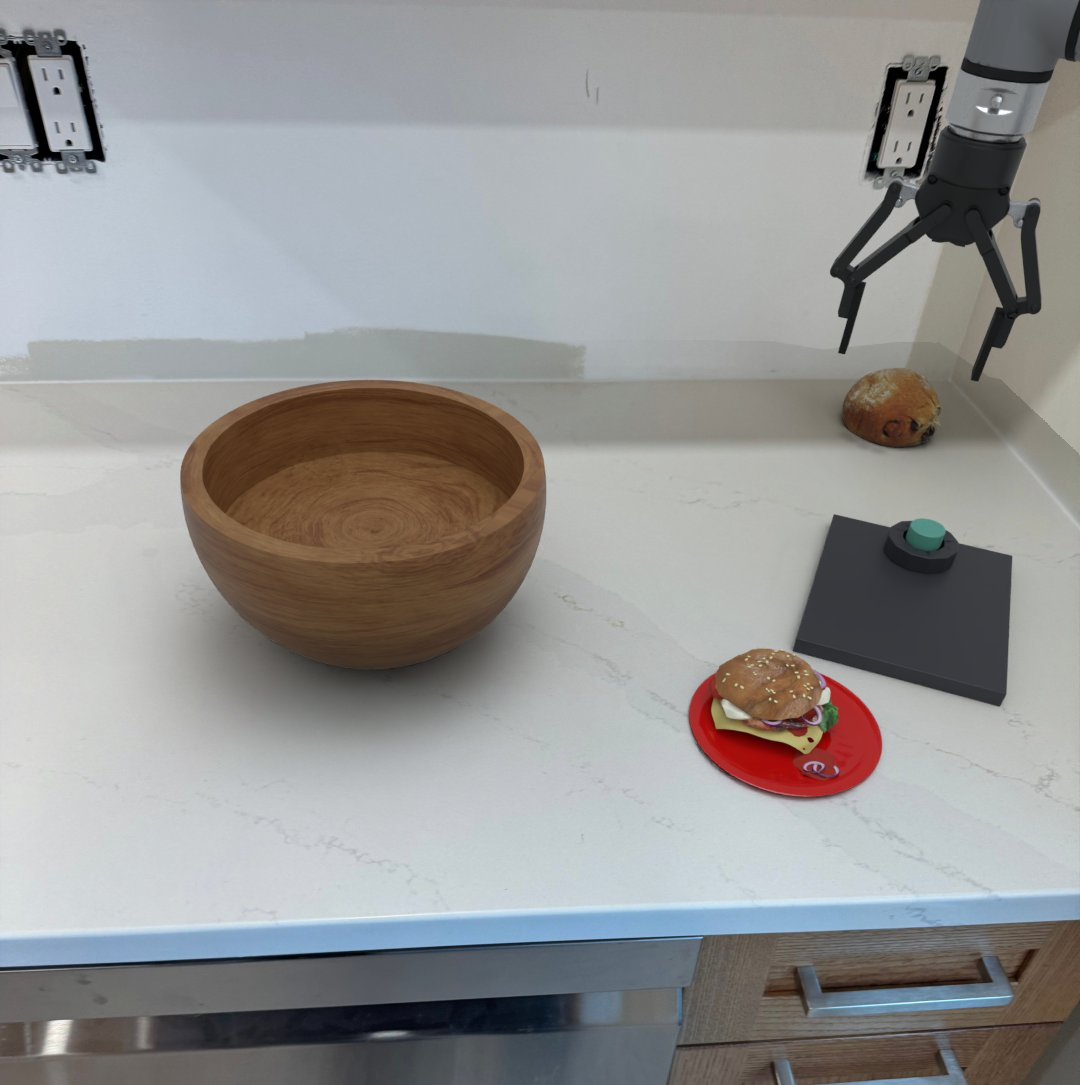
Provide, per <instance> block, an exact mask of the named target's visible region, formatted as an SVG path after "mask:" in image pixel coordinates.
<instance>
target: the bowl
mask: <svg viewBox="0 0 1080 1085" xmlns="http://www.w3.org/2000/svg"><path fill="white" fill-rule="evenodd" d="M545 466H546V465H545V459H544V455H543V452H542V449H541V447H540V445H539V443H538V441H537V439H536V438H535V437H534V435H533V434H532V432H531V431H530V430H529V429H528V428H527V427H526V426H525V425H524V424H523V423H522V422H521V421H519V420H518V419H517V418H516V417H514V416H513V415H511V413H508V412H507V411H505V410H504V409H502V408H501V407H498V406H496V405H495V404H493V403H491V402H489V401H486V400H484V399H481V398H479V397H476V396H473V395H470V394H468V393H464V392H461V391H458V390H454V389H451V388H447V387H443V386H437V385H433V384H428V383H427V384H426V383H421V382H413V381H403V380H394V379H393V380H391V379H350V380H338V381H329V382H322V383H321V382H320V383H314V384H309V385H302V386H298V387H297V386H296V387H293V388H289V389H286V390H282V391H278V392H274V393H271V394H268V395H265V396H262V397H259V398H257V399H254V400H252V401H249V402H247V403H244V404H243V405H241V406H240V405H239V406H238V407H236V408H234V409H232V410H230V411H228V412H227V413H225V414H223V415H222V416H220V417H219V418H217V419H216V420H215V421H212V423H210V424H209V425H208V426H207V427H205V428H204V429H203V430H202V431H201V432H200V433H199V434H198V435H197V436H196V438H194V440H193V441H192V442H191V444H190V445H189V447H188V448H187V450H186V452H185V454H184V456H183V459H182V461H181V466H180V471H179V472H180V473H179V480H180V496H181V504H182V511H183V516H184V521H185V524H186V527H187V531H188V535H189V538H190V540H191V543H192V545H193V548H194V551H195V553H196V556H197V558H198V559H199V563H200V564H201V565H202V567H203V569H204V571H205V573H206V575H207V576H208V578H209V580H210V581H211V582H212V584H213V585H214V587H215V589H216V590H217V591H218V593H219V594H220V595H221V596H222V598H223V599H224V600H225V601H226V602H227V604H228V605H229V607H231V608H232V609H233V610H234V611H235V613H237V614H238V615H239V617H241V618H242V619H243V620H244V621H246V623H247V624H248V625H249V626H251V627H252V628H254V629H255V630H256V631H257V632H259V633H260V634H261V635H263V636H264V637H265V638H267V639H269V640H270V641H272V642H273V643H275V644H277V645H279V646H280V647H282V648H283V649H286V650H288V651H290V652H292V653H294V654H296V655H298V656H301V657H303V658H306V659H308V660H312V661H315V662H318V663H320V664H321V663H322V664H325V665H330V666H333V667H338V668H339V667H340V668H345V669H347V668H348V669H355V670H388V669H389V670H390V669H398V668H403V667H408V666H413V665H416V664H420V663H424V662H426V661H430V660H432V659H435V658H439V657H440V656H443V655H445V654H447V653H449V652H450V651H453V650H455V649H457V648H459V647H460V646H462V645H463V644H465V643H467V642H468V641H469V640H471V639H472V638H474V637H475V636H477V635H478V634H479V633H481V632H482V631H483V630H484V629H485V628H486V627H488V626H489V625H490V624H491V623H492V622H493V621H494V620H495V619H496V618H498V616H499V615H500V614H501V613H502V612H503V610H504V609H505V608H506V607H507V606H508V605H509V603H510V602H511V601H512V599H514V597H515V595H516V593H517V592H518V590H519V589H520V587H521V586H522V584H523V582H524V580H525V579H526V577H527V575H528V573H529V571H530V569H531V567H532V564H533V562H534V560H535V557H536V554H537V551H538V548H539V545H540V542H541V537H542V535H543V534H542V533H543V529H544V525H545V518H546V508H547V475H546V467H545Z"/></svg>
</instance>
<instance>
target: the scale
mask: <svg viewBox="0 0 1080 1085" xmlns="http://www.w3.org/2000/svg"><path fill="white" fill-rule="evenodd" d="M912 521H913V520H902V521H898V522H897V523H895V524H893V525H891V526H887V525H882V524H878V523H874V522H869V521H865V520H861V519H857V518H853V517H848V516H844V515H839V514H837V513H836V514H835V513H833V514H832V517H831V522H830V525H829V529H828V532H827V535H826V538H825V541H824V544H823V548H822V552H821V554H820V558H819V562H818V565H817V568H816V571H815V575H814V577H813V582H812V585H811V587H810V591H809V594H808V597H807V601H806V604H805V608H804V611H803V614H802V616H801V617H802V618H801V621H800V624H799V628H798V630H797V634H796V637H795V641H794V644H793V647H792V650H791V651H792V652H794V653H796V654H801V655H805V656H809V657H813V658H817V659H820V660H823V661H826V662H827V661H828V662H831V663H835V664H838V665H843V666H847V667H850V668H854V669H856V670H860V671H861V670H862V671H865V672H868V673H873V674H876V675H880V676H883V677H888V678H891V679H893V680H899V681H902V682H906V683H909V684H912V685H913V684H914V685H917V686H921V687H924V688H928V689H932V690H935V691H939V692H943V693H946V694H951V695H955V696H958V697H963V698H965V699H969V700H973V701H977V702H981V703H984V704H988V705H992V706H994V707H1001V705H1002V704H1003V702H1004V700H1005V698H1006V696H1007V694H1008V693H1007V691H1008V690H1007V689H1008V670H1009V668H1008V666H1009V644H1010V621H1011V600H1012V599H1011V597H1012V596H1011V595H1012V578H1013V577H1012V576H1013V574H1012V572H1013V570H1012V569H1013V555H1011V554H1007V553H1003V552H998V551H993V550H990V549H986V548H981V547H977V546H972V545H968V544H964V543H960V542H959V541H958V540H957V539H956V537H955V536H954V535H953V534H952V532H950V531H949V530H947V529H945V530H946V533H945V536H944V538H943V541H942V543H941V546H940V548H939V549H938V550H935V551H926V550H922V549H918V548H915V547H913V546H911V545H909V544H908V543H907V542H906V539H905V538H906V535H907V532H908V529H909V527H910V524H911V522H912Z"/></svg>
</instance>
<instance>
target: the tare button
mask: <svg viewBox="0 0 1080 1085" xmlns="http://www.w3.org/2000/svg"><path fill="white" fill-rule="evenodd" d="M911 521H912V522H911V524H910V527H909V529H908V532H907V535H906V538H905V539H906V542H907V543H908V544H909V545H911V546H913V547H915V548H918V549H922V550H926V551H935V550H938V549H939V548H940V546H941V543H942V541H943V538H944V536H945V533H946V530H947V529H946V528H945V527H944V525H943V524H941V523H940V522H938V521H936V520H934V519H930V518H923V517H922V518H915V519H913V520H911Z"/></svg>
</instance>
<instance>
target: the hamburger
mask: <svg viewBox="0 0 1080 1085" xmlns="http://www.w3.org/2000/svg"><path fill="white" fill-rule="evenodd" d="M688 717H689V724H690V729H691V730H692V733H693V736H694V738H695V740H696V742H697V744H698V745H699V746H700V748H701V749H702V750H703V752H704V753H705V754H706V755H707V756H708V757H709V759H711V761H713V762H714V763H715V764H716V765H717V766H718V767H720V769H722V770H724V771H725V772H726V773H728V774H730V775H731V776H732V777H735V778H736V779H738V780H740V781H741V782H744V783H746V784H748V785H751V786H753V787H756V788H758V789H761V790H764V791H766V792H771V793H775V794H779V795H785V796H791V797H792V796H793V797H806V798H807V797H808V798H809V797H823V796H829V795H834V794H838V793H841V792H844V791H847V790H849V789H851V788H854V787H856V786H857V785H859V784H861V783H862V782H863V781H865V780H866V779H867V778H868V777H869V776H870V775H871V774H872V773H873V772H874V770H875V769H876V768H877V766H878V764H879V762H880V760H881V756H882V753H883V752H882V751H883V738H882V732H881V729H880V726H879V724H878V722H877V720H876V718H875V716H874V714H873V712H872V711H871V710H870V709H869V707H868V705H866V703H864V702H863V700H862V699H861V698H860V697H859V696H857V695H856V694H855V693H854V692H853V691H851V689H849V688H848V687H847V686H845V685H843V684H842V683H840V682H838V681H837V680H835V679H833V678H831V677H830V676H827V675H825V674H823V673H820V672H818V671H817V670H815V669H813V668H812V667H811V665H810V664H809V663H808V662H807V661H806V660H804V659H803V658H801V657H799V656H798V653H792V652H791V653H790V652H788V651H787V650H786V651H785V650H784V649H783V648H780V649H772V648H765V647H764V646H762V647H756V648H753V649H750V650H748V651H746V652H744V653H741V654H738V655H736V656H734V657H732V658H731V659H729V660H726V661H725V662H723V663H722V664H720V665H719V666H718V668H717V670H716V672H715V673H713V674H711V675H709V676H708V677H707V678H705V680H703V681H702V683H700V685H699V686H698V687H697V688H696V689H695V691H694V693H693V695H692V697H691V700H690V704H689V711H688Z"/></svg>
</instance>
